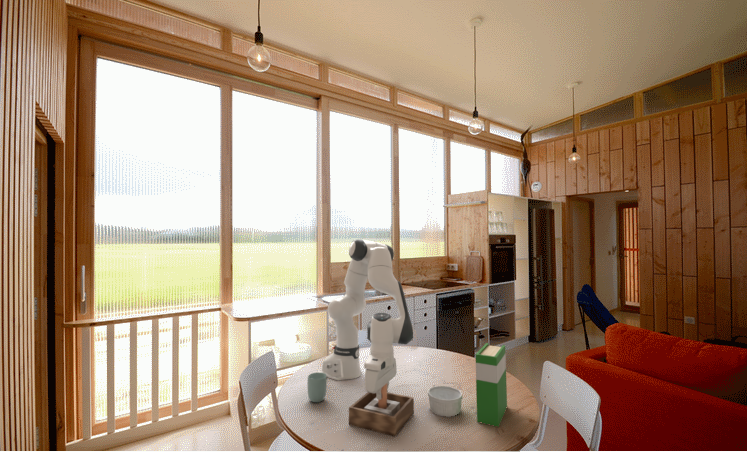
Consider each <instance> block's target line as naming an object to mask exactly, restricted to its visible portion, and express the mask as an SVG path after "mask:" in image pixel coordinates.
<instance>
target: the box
mask: <svg viewBox="0 0 747 452" xmlns="http://www.w3.org/2000/svg"><path fill="white" fill-rule="evenodd" d="M414 399H415V398H414V397H413V396H409V395H403V394H398V393H393V392H388V393H387V408H386V409H382V408H378V399H377V398H376V393H375V394H373V393H369V392H367V391H366V393H365V394H363V395H362V396H361V397H360V398H359V399H357V400H355V402H354V403H352V404H351V405H350V406H349V407H348V425H349V426H353V427H356V428H360V429H363V430H367V431H372V432H375V433H379V434H383V435H386V436H390V437H394V438H395V437H397V436H398V434H399V433H400V432H401V431H402V429H403V428H404V427H405V425H406V424H407V423H408V422H409V421H410V419H411V418H412V417H413V416H414V413H415V412H414V409H415V407H414V404H415V403H414V401H415V400H414Z"/></svg>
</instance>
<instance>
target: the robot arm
mask: <svg viewBox="0 0 747 452" xmlns="http://www.w3.org/2000/svg"><path fill="white" fill-rule="evenodd" d="M348 255H349V257H350V262H349V265H348V267H347V271H346V274H345V278H344V281H343V283H344V286H345V294H344V295H343V296H340V297H336V298H334V299H333V300H331V301H330V302H329V303H328V304H327V305H328V306H327V314H328V316H329V318H331V320H333V323H334V325H335V330H336V331H335V332H336V345H334V346H332V347H331V350H333V352H332V353H331V354H329V355H328V356H327V357H326V358H325V359H323V362H322V366H321V368H319V369H318V370H317V373H325V374H326V375H327V379H331V380H335V381H343V380H353V379H356V378H359V377H361V376H362V374H363V372H362V369H361V364H360V344H359V328H358V327H357V326H356V325H355V321H354V317H356V316H359V315H360V314H362V313H363V312H364V311H365V310H366V307H367V301H366V299H365V289H366V286H367V283H369V285H370V286H371V287H372V288H373V289H375V290H376V291H378V292H380V293H383V294H386V295H388V296H390V297H391V298H392V299H394V300H395V304H396V309H397V313H398V314H397V315H398V317H397V318H396V317H395V318H392V316H391V314H389V313H386V312H377V313H374V314H373V315H372V316H371V320H370V321H369V322H368V323H367V324H366V329H367V331H366V332H367V337H366V338H367V340H368V341H369V343H371V344H370V349H369V350H370V351H369V353H370V354H369V355H368V357H367V358H366V360H365V361H364V363H363V369H365V371H364V388H365V389H364V390H365V391H366V393H367V392H369V393H373V394H375V393H376V398H377V399H378V400H381V399H382V393H381V390H382V387H383V386H384V385H385V384H386V383H387V393H388V391H389V385H390V381H391V380H392V379H394V378H395V377H396V376H397V360H396V357H395V352H394V351H395V350H394V346H393V344H397V345H398V344H399V345H408V344H409V343H410V342H411V341H412V340H413V339H414V336H415V335H414V334H415V329H414V325H413V324H412V320H411V317H410V313H409V309H408V305H407V304H408V303H407V301H406V300H407V299H406V296H405V291H404V288H403V285H402V282H400V281H399V280H397V279H396V277H395V275H394V272H393V271H394V270H393V260H394V256H395V251H394V249H393V247H392V246H390V245H388V244H384V243H381V242H378V241H375V240H373V241H372V240H367V239H362V238H355V239H353V240H352V241H351V243H350V245H349V249H348Z"/></svg>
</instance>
